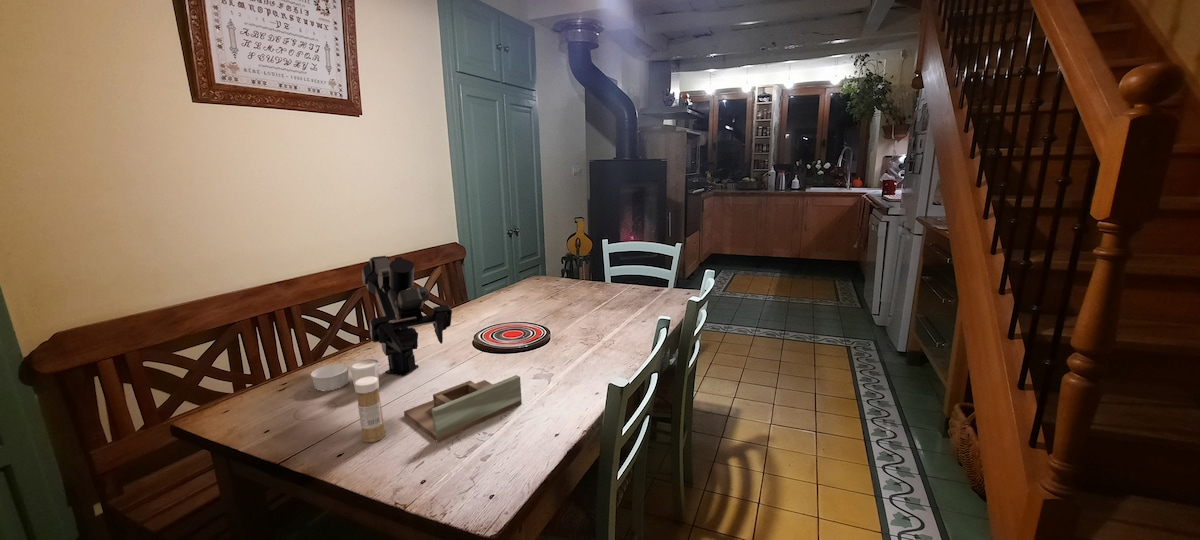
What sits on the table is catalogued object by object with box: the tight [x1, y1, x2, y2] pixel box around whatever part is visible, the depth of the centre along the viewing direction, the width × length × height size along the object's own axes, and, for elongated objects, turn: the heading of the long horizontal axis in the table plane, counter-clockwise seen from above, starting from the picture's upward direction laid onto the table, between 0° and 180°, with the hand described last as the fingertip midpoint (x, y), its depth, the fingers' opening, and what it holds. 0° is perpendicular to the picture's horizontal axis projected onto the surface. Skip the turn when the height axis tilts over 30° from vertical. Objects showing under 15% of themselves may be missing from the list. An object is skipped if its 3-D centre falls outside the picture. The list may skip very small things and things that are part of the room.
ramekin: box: [310, 363, 350, 391], centre depth 130 cm, size 9×9×4 cm
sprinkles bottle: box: [353, 376, 386, 443], centre depth 104 cm, size 5×5×13 cm
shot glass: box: [349, 358, 380, 388], centre depth 127 cm, size 7×7×7 cm
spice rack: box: [403, 374, 523, 443], centre depth 116 cm, size 16×22×7 cm
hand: (422, 346), depth 114 cm, fingers open, 9 cm apart
